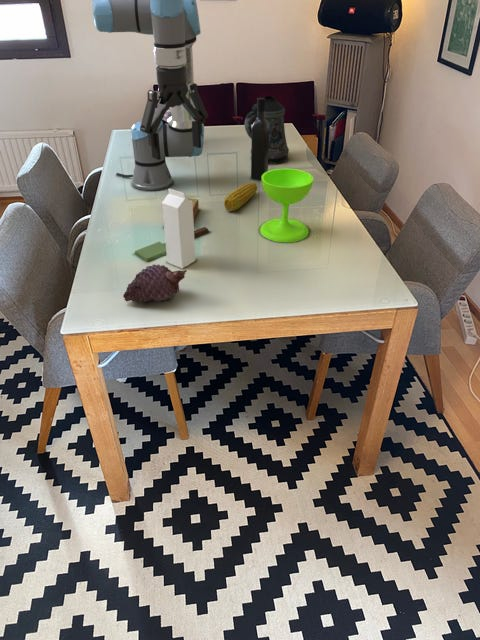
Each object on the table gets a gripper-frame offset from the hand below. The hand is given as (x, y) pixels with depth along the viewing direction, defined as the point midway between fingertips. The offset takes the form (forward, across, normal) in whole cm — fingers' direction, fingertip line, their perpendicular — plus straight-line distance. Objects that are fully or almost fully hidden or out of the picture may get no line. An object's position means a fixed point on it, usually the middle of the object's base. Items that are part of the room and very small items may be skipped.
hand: (177, 152), depth 138 cm
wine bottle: (+31, +60, +29) cm, 74 cm away
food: (+31, +38, +16) cm, 52 cm away
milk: (+31, -4, -4) cm, 31 cm away
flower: (+32, +56, +84) cm, 105 cm away
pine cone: (+31, -20, -14) cm, 40 cm away
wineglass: (+31, +33, -10) cm, 47 cm away
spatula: (+31, +1, +6) cm, 31 cm away
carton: (+31, +14, +19) cm, 39 cm away
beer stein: (+32, +78, +42) cm, 94 cm away
